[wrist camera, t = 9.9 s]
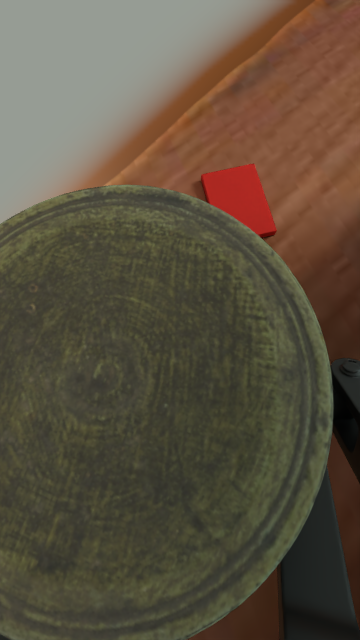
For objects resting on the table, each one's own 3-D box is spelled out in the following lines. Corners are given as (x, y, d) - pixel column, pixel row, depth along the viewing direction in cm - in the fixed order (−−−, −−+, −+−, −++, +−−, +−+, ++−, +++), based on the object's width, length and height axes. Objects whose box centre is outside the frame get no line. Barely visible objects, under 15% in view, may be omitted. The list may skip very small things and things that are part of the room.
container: (111, 341, 23) (-141, 220, 6) (209, 316, 23) (265, 123, 6) (131, 448, 21) (-168, 788, 4) (238, 420, 21) (465, 618, 4)
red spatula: (316, 359, 23) (323, 358, 22) (254, 373, 23) (258, 372, 22) (252, 169, 28) (255, 159, 26) (200, 179, 28) (201, 170, 26)
